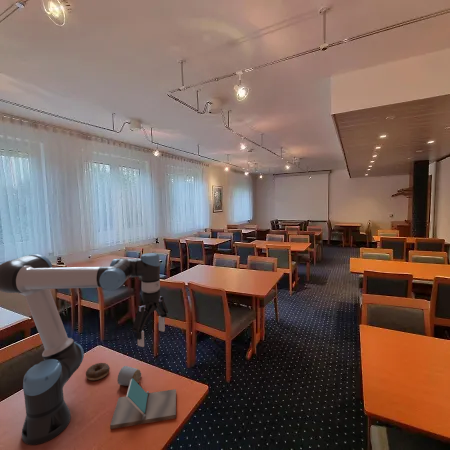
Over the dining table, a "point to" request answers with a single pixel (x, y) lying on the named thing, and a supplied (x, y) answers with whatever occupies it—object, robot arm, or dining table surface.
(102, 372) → the donut
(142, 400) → the tile
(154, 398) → the hinge board
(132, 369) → the ceramic mug
